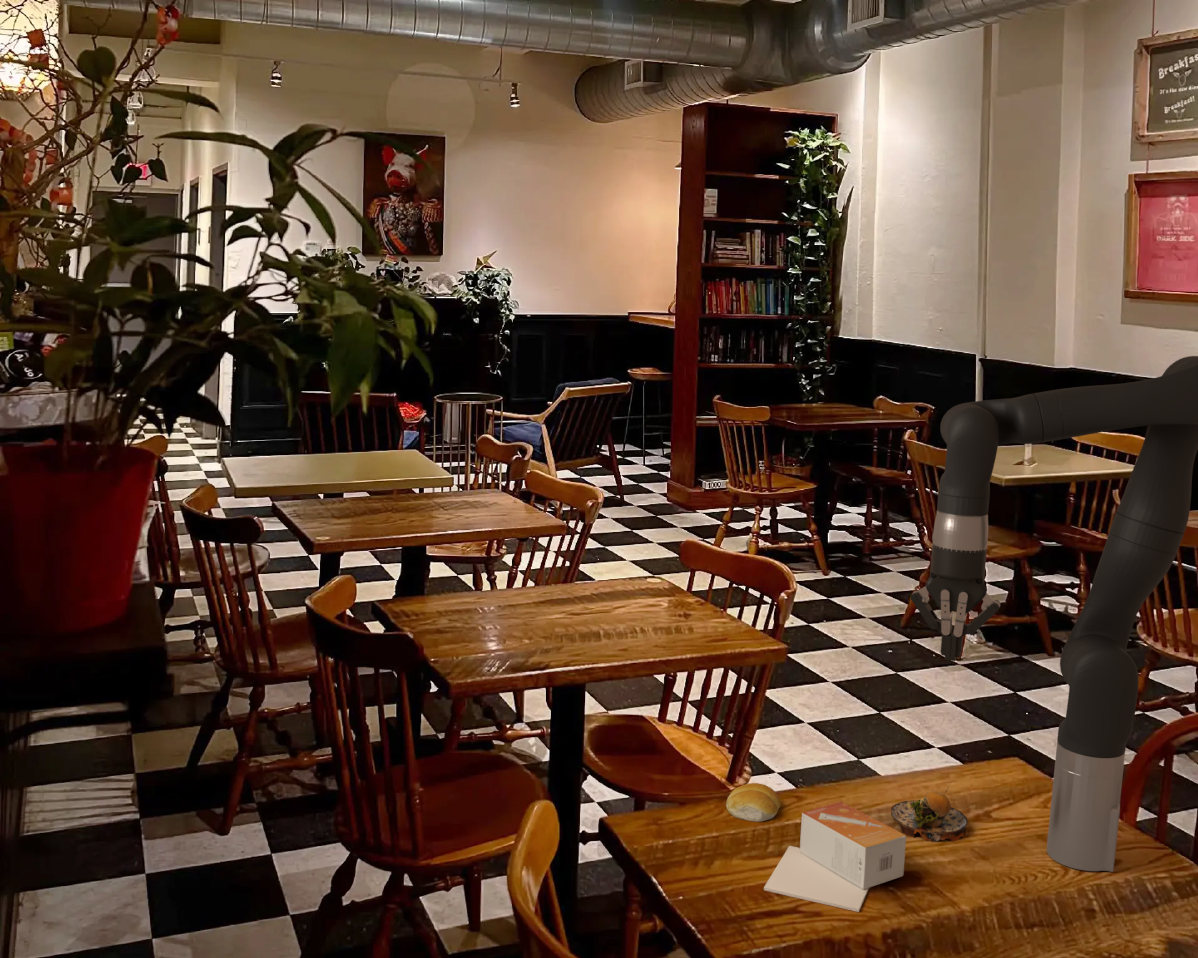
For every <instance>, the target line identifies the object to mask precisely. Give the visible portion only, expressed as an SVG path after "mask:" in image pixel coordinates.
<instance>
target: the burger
mask: <svg viewBox="0 0 1198 958" xmlns="http://www.w3.org/2000/svg"><path fill="white" fill-rule="evenodd" d="M948 790H949V787H947V788H946V790H945V792H944V793H942V792H941V791H938V790H935V789H934V790H933V789H932V790H930V791H928V792H927V793H926V797H922V798H921V799H918V800H904V801H900V802H897V803H895V804H894V805H893V806H892V807H891V808H890V809H891V813H890V815H891V817H892V820H893V821H894V822H896V823H898V824H899V825H900V829H901V833H902V834H904V835H906V837H908V836H909V837H911V838H915V834H917V833H918V834H920V837H921V838H922V839H923V840H925V841H927V842H932V841H934V843H937V842H938V841H940V840H941V841H945V840H950V842H955V841H958V840H959V839H960V838H961V839H963V838H965V837H966V835H967V834H968V822H969V821H968V818H967V817H966V815H965V814H964V813H963V812H962V811H960V810H958V809H956V808H955V807H953V806H952V804H951V802H950V800H949V798H948V797H947V795H946V792H947V791H948Z"/></svg>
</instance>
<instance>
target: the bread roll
mask: <svg viewBox="0 0 1198 958" xmlns="http://www.w3.org/2000/svg"><path fill="white" fill-rule="evenodd" d="M781 805H782V803H781V799H780V796H779V795H778V793H777V792H776V791H775V790H774V789H773V788H772V787H769V786H767V785H766V784H763V783H759V782H751V783H746V784H743V785H741V786H738V787H735V788H734V789H733V790H732V791H731V792H730V794H729V795H728V796H727V799H726V804H725V806H726V809H727V811H728V813H729V815H731V816H733V817H734V818H737V819H739V820H745V821H748V822H757V823H758V822H759V823H760V822H765V821H768V820H772V819H774V818H775V816H776V815H777V814H778V810H779V809H780V808H781Z"/></svg>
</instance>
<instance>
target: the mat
mask: <svg viewBox="0 0 1198 958" xmlns="http://www.w3.org/2000/svg"><path fill="white" fill-rule="evenodd" d="M869 889H870V887H869V888H866V889H861V888H860V887H858V886H856V885H855V884H853V883H851V882H850V881H848V880H846V879H845V878H843V877H841V876H840V875H838V874H836V873H835V872H833V871H831V870H829V869H828V868H826V867H824V866H823V865H821V864H819V863H818V862H816V861H814V860H813V859H811V858H809V857H807V856H806V855H804V854H802V853H801V852H800V847H797V846H793V845H789V846H788V847H787V849H786V850H785V853H784V854H783V855H782V858H781V859H780V861H779V862H778V864H777V866H776V867H775V869H774V871H773V872H772V873H771V875H770V877H769V878H768V880H767V881H766V883H765V885H764V887H763V891H766V892H770V893H774V894H779V895H783V896H788V897H792V898H797V899H801V900H805V901H809V902H812V903H813V902H814V903H818V904H822V905H826V906H832V907H835V908H840V909H844V910H849V911H853V912H856V913H859V912H860V910H861V908H862V905H863V903H864V901H865V899H866V896H867V894H868V892H869Z"/></svg>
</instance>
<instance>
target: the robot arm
mask: <svg viewBox="0 0 1198 958" xmlns="http://www.w3.org/2000/svg"><path fill="white" fill-rule="evenodd" d="M939 427H940V435H941V438H942V439H943V441H944V442H945V444H946V456H945V468H944V473H943V474H942V475H941V476H940V480H939V485H938V492H937V494H938V495H937V505H936V506H937V507H936V508H937V509H936V514H935V515H936V516H935V520H934V526H933V533H932V537H931V539H932V546H931V547H932V549H931V557H930V558H931V561H930V573H929V574H930V575H929V577H928V579H927V581H926V582H925V586H924V587H922V588H920V589H916V590H914V591H913V592H912V593H911V596H910V600H911V601H912V603H913V604H914V605H915V608H916V609H917V610H918V612H919V613H920V614H921V616H922V618H923V619H924V621H925V622H926V624H927V626H929V629H931V630H936V631H937V632H940V635H941V642H940V643H941V644H940V654H941V656H943V657H944V661H952V662H956V661H957V659H959V658H960V657H961V655H962V653H963V640H964V636H967V635H974V634H976V632H977V631H978V630H979V629H981V627H983V625H984V624H985V623H987V622H988V621H989V620H990V619H991V618H992V617H993V616H994V615H995V614H997V612H998V611H999V609H1000V607H1001V602H1000V601H999V600H998V599H994V598H993V596H991V595H990V594H989V593H988V588H987V586H986V585H987V584H986V583H985V582H986V581H985V576H986V562H987V552H988V551H987V550H988V543H989V541H988V539H989V515H988V514H989V509H990V508H989V506H990V505H989V504H990V495H991V494H990V493H991V487H990V486H991V485H990V484H991V479H992V475H993V470H994V467H995V461H996V458H997V454H998V446H1001V445H1002V446H1003V445H1010V444H1022V445H1033V444H1040V443H1042V444H1043V443H1047V442H1053V441H1060V440H1065V439H1071V438H1076V437H1082V436H1086V435H1087V436H1088V435H1092V434H1098V433H1103V432H1104V433H1105V432H1109V431H1110V432H1111V431H1115V430H1123V429H1127V428H1136V427H1137V428H1138V427H1139V428H1140V427H1147V429H1146V431H1145V432H1146V433H1145V436H1144V440H1143V443H1142V445H1141V449H1140V452H1139V454H1138V456H1137V458H1136V460H1135V463H1134V466H1133V467H1132V471H1131V473H1130V476H1129V478H1128V481H1127V483H1126V486H1125V489H1124V493H1123V495H1122V497H1121V500H1120V502H1119V504H1118V507H1117V509H1116V512H1115V515H1114V518H1113V520H1112V522H1111V526H1110V528H1109V532H1108V535H1107V537H1106V541H1105V545H1104V548H1103V551H1102V554H1101V556H1100V558H1099V562H1098V565H1097V567H1096V571H1095V573H1094V576H1093V579H1092V583H1091V584H1092V585H1091V587H1090V590H1089V594H1088V596H1087V598H1086V601H1085V602H1084V606H1083V608H1082V610H1081V612H1080V613H1079V615H1078V618H1077V620H1076V622H1075V624H1074V626H1073V628H1072V630H1071V632H1070V634H1069V635H1068V637H1067V640H1066V641H1065V644H1064V646H1063V649H1062V651H1061V654H1060V659H1059V668H1060V669H1059V670H1060V673H1061V675H1062V678H1063V679H1064V682H1066V684H1067V685H1068V687H1069V688H1068V699H1067V705H1066V706H1067V707H1066V712H1065V713H1066V714H1065V718H1064V719H1063V720H1061V722H1060V723H1059V726H1058V731H1057V737H1056V738H1057V741H1056V749H1055V751H1056V752H1055V759H1054V760H1055V762H1054V773H1053V781H1052V791H1051V802H1050V810H1049V811H1050V813H1049V823H1048V833H1047V839H1046V840H1047V843H1046V853H1047V855H1048V856H1049V857H1050V858H1051V859H1052V860H1053V861H1055V862H1057V863H1058V864H1061V865H1063V866H1065V867H1069V868H1071V869H1075V870H1078V871H1079V870H1081V871H1087V872H1101V871H1106V872H1112V873H1113V872H1114V870H1115V869H1114V868H1115V860H1116V850H1117V840H1118V832H1119V824H1120V823H1119V822H1120V814H1121V813H1120V812H1121V796H1122V795H1121V793H1122V786H1123V785H1122V783H1123V774H1124V769H1125V768H1124V765H1125V758H1126V757H1125V756H1126V749H1127V743H1128V741H1129V739H1130V738H1131V735H1132V733H1133V732H1132V731H1133V728H1134V722H1135V716H1136V707H1137V701H1138V696H1139V695H1138V694H1139V670H1138V666H1137V665H1136V663H1135V661H1134V659H1133V657H1131V655H1130V654H1128V653H1127V647H1128V643H1129V639H1130V635H1131V632H1132V629H1133V626H1134V623H1135V620H1136V618H1137V615H1138V613H1139V611H1140V609H1141V608H1142V606H1143V604H1144V602H1145V601H1146V600H1147V599H1148V598H1149V596H1150V595H1151V594H1152V593H1153V592H1154V590H1155V589H1156V588H1157V586H1159V584H1160V583H1161V581H1162V580H1163V579H1164V578H1165V576H1166V575H1167V573H1168V572H1169V570H1170V568H1171V566H1173V565H1172V564H1173V563H1174V561H1175V559H1176V557H1177V553H1178V551H1179V547H1180V545H1181V543H1182V541H1183V537H1184V535H1185V534H1184V533H1185V532H1186V529H1187V525H1188V522H1189V518H1190V517H1189V516H1190V512H1191V511H1190V510H1191V501H1192V484H1193V483H1192V482H1193V481H1192V480H1193V469H1194V463H1195V459H1196V455H1197V453H1198V355H1190V356H1185V357H1182V358H1179V359H1177V360H1174V362H1173V363H1171V364H1170V365H1169V366H1168V367H1167V368H1166V369H1165V370H1164V372H1163V374H1162V375H1161V376H1158V377H1157V376H1156V377H1153V378H1147V379H1144V380H1143V379H1142V380H1139V381H1132V382H1125V383H1123V382H1122V383H1115V384H1114V383H1113V384H1103V385H1087V386H1075V387H1068V388H1067V387H1066V388H1060V389H1053V390H1046V391H1041V392H1035V393H1030V394H1024V395H1021V396H1017V397H1013V398H1012V397H1011V398H999V399H986V400H985V399H984V400H976V401H970V402H969V401H968V402H964V403H960V404H957V405H955V406H952V407H951V408H950V409H949V410H947V411H946V413H944V414H943V417H942V418H941V422H940V426H939ZM929 596H930V597H931V598H932V600H933V602H934V603H935V605H936V607H938V609H939V610H940V617H938V616H937V614H936V613H935V611H934V610H933V608H932V607H931V605H930V604H929V601H930V597H929ZM981 601H983V602H982V604H981V606H980V607H981V608H980V609H981V610H982V611H981V612H980V613H978V615H977V616H976V617H975V618H974V619H972V620H971V621H970V623H967V624H966V621H967V614H968V613H970V612H972V611H973V610H974V608H976V606H978V604H979V603H980V602H981ZM953 613H955V618H954V619H955V620H954V621H955V622H954V627H953Z"/></svg>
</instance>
